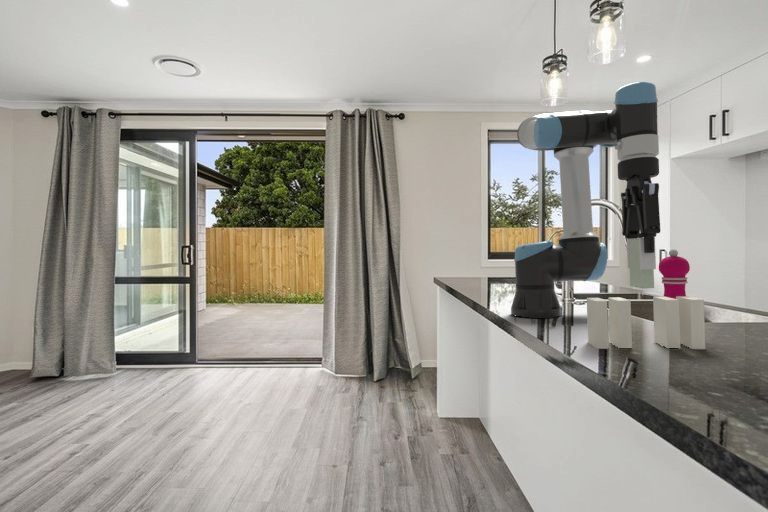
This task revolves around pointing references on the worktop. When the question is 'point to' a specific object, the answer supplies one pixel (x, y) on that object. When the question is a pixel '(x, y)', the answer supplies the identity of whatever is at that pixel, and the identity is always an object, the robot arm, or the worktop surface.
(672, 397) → the worktop surface
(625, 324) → the tile
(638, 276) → the tile
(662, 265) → the pepper mill
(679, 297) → the tile
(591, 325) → the tile
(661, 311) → the tile
